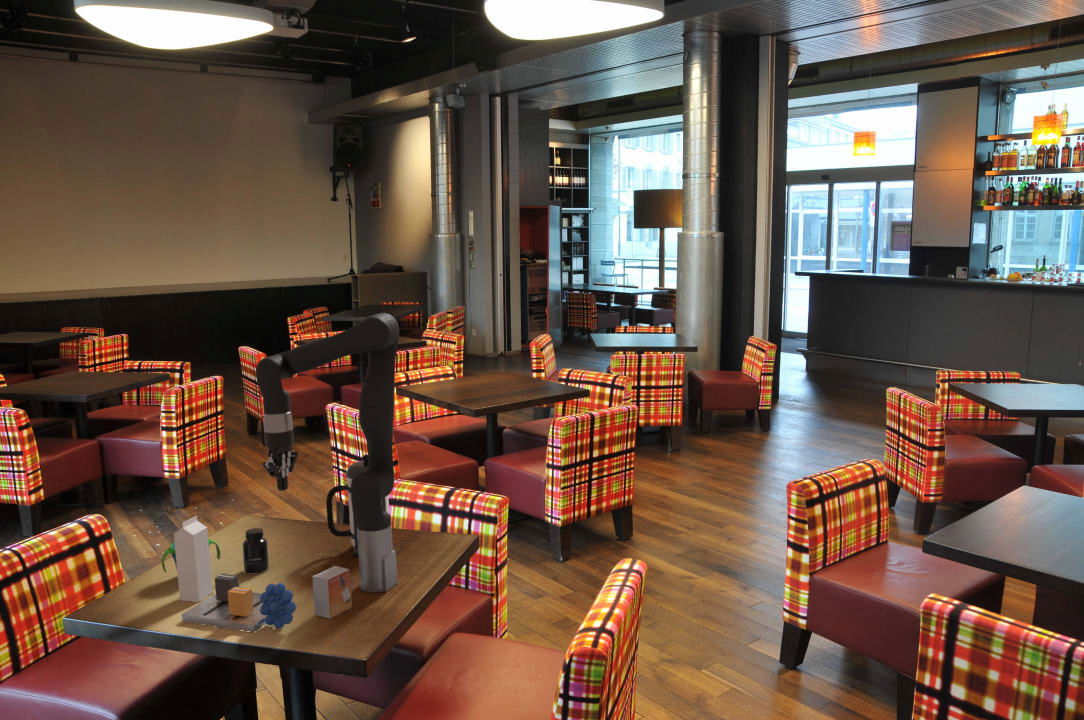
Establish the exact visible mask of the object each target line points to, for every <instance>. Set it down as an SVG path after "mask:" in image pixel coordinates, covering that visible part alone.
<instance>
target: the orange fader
mask: <svg viewBox="0 0 1084 720" xmlns="http://www.w3.org/2000/svg"><path fill="white" fill-rule="evenodd" d="M252 592H253V589H252V588H249V587H248V588H247V587H240V586H239V587H234V588H232V589H231V590H229V591H228V603H229V614H232V615H238V616H245V617H246V616H248V615H249V614H251V613H252V612H254V608H253V595H252Z"/></svg>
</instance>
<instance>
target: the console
mask: <svg viewBox="0 0 1084 720" xmlns="http://www.w3.org/2000/svg"><path fill="white" fill-rule="evenodd" d="M261 594H262V593H260V592H253V591H252V595H253V608H254V612H252V613H251V614H249V615H248V616H246V617H245V616H238V615H232V614H229V603H228V602H227V601H220V600H216V593H214V594H213V595H210V596H209V597H207V598H205V599H204V600H202V601H201V602H199V604H196V605H195V606H193V607H191V608H189V609H188V610H186V611H185V612H183V613H181V622H182V623H188V622H189V624H194V623H197V624H196V625H200V624H205V625H204V626H206V625H210V626H209V627H213V626H216V627H215V628H219V627H222V628H221V629H225V628H230V629H229V630H231V629H236V630H235V631H238V630H244V631H250V632H255V631H257V630H258V629H260V628H261V627H262V626H263V625H265V624H267V623H266V622H265V619H266V616H267V615H266V616H265V615H262V614H261V613H260V608H261V606H262V605H263V603H261V601H260V596H261ZM291 602H294V603H295V599H294V597H293V598H292V600H291ZM267 625H268V624H267ZM265 626H266V625H265ZM261 629H262V628H261ZM261 629H260V630H261ZM244 631H243V632H244ZM258 631H259V630H258ZM258 631H257V632H258ZM250 632H249V633H250Z"/></svg>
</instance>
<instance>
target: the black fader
mask: <svg viewBox="0 0 1084 720" xmlns="http://www.w3.org/2000/svg"><path fill="white" fill-rule="evenodd" d="M214 587H215V588H214V589H215V594H216V600H220V601H227V602H228V591H229V590H231V589H232V588H234V587H240V582H239V575H235V574H227V573H221V574H219V575H218V576H216V577H215V578H214Z"/></svg>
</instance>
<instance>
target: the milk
mask: <svg viewBox="0 0 1084 720" xmlns="http://www.w3.org/2000/svg"><path fill="white" fill-rule="evenodd" d="M181 523H182V525H181V527H182V528H180V529H179V530H177V531H175V532H174V533H173V539H174V540H173V541H174V542H175V552H176V562H177V569H176V572H177V582H178V583H177V584H178V592H179V600H180V601H181V602H189V601H192V602H191V603H200V602H199V601H201V600H202V599H204V598H205V597H206V596H208V595H209V594H211V593H212V592H213V593H214V589H213V580H212V579H213V578H212V568H211V567H212V566H211V558H210V557H211V556H210V555H211V554H210V546H209V543H208V539H209V535H208V526H206V525H205V524H203V523H201V522H200V521H199V520H198V516H197V515H195V516H193V517H191V518H189V519H187V520H184V521H183V522H181ZM213 593H212V594H213ZM212 594H211V595H212ZM208 597H209V596H208ZM205 599H206V598H205ZM205 599H204V600H205ZM194 601H195V602H194ZM202 601H203V600H202ZM202 601H201V602H202Z"/></svg>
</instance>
